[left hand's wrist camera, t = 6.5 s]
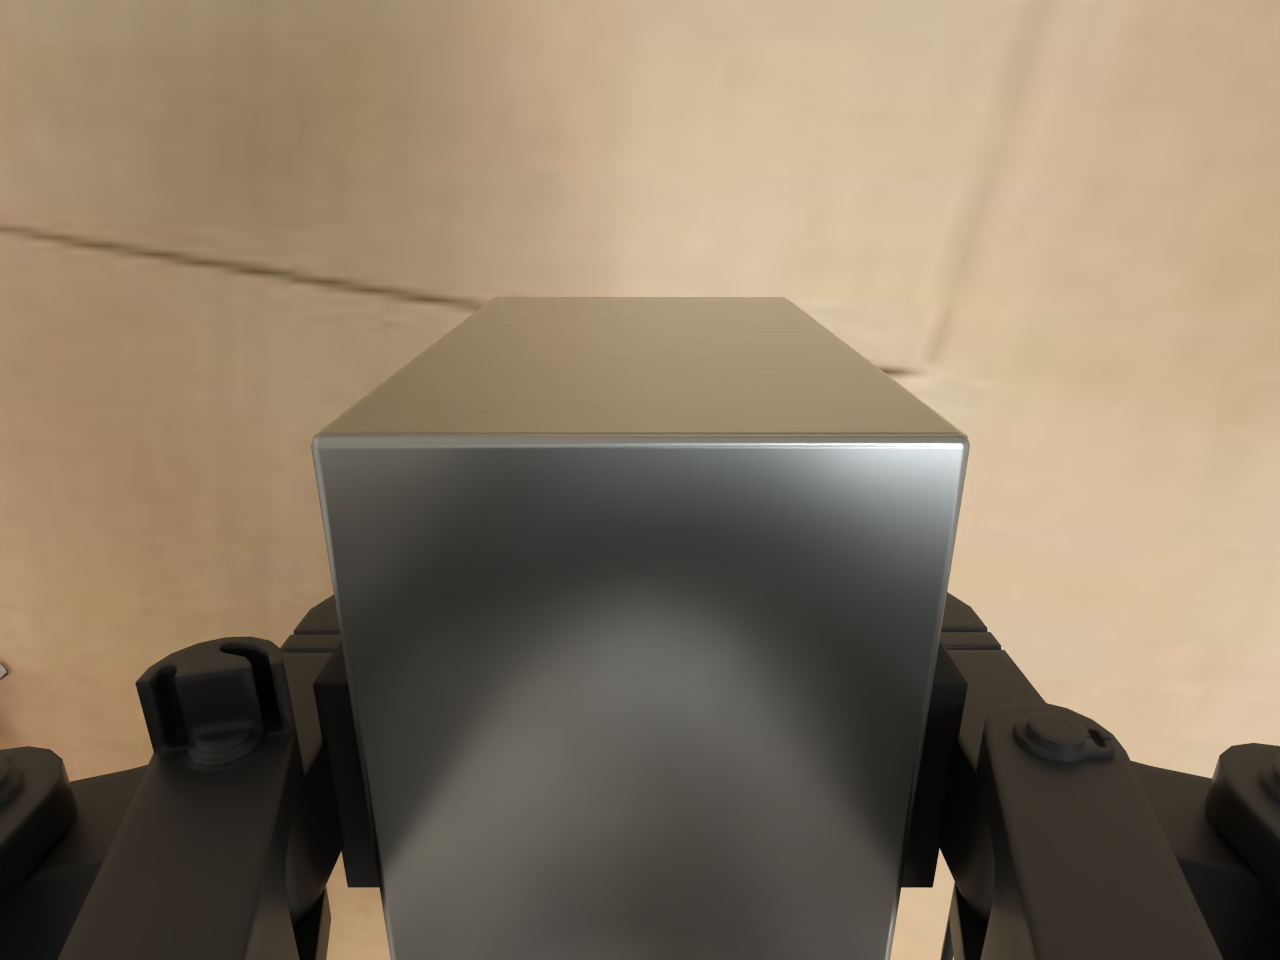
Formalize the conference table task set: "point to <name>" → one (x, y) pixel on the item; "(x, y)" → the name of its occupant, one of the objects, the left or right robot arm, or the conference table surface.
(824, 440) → the bar
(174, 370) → the conference table surface
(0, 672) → the fish
